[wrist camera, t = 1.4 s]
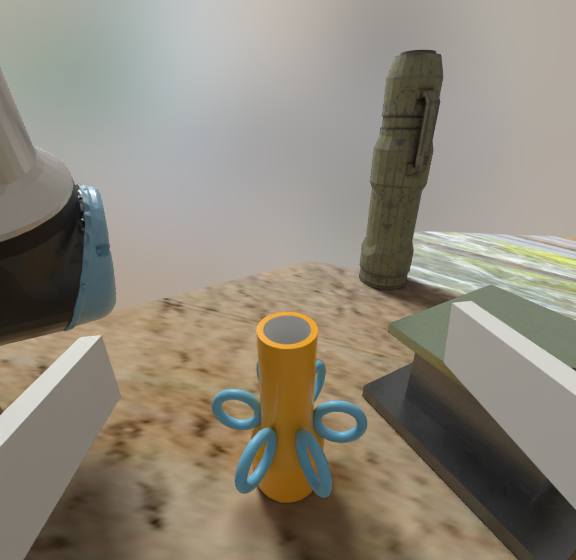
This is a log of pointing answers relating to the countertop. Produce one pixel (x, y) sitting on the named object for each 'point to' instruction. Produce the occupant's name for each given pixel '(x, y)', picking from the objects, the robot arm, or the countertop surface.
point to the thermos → (400, 167)
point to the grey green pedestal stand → (479, 425)
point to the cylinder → (287, 414)
